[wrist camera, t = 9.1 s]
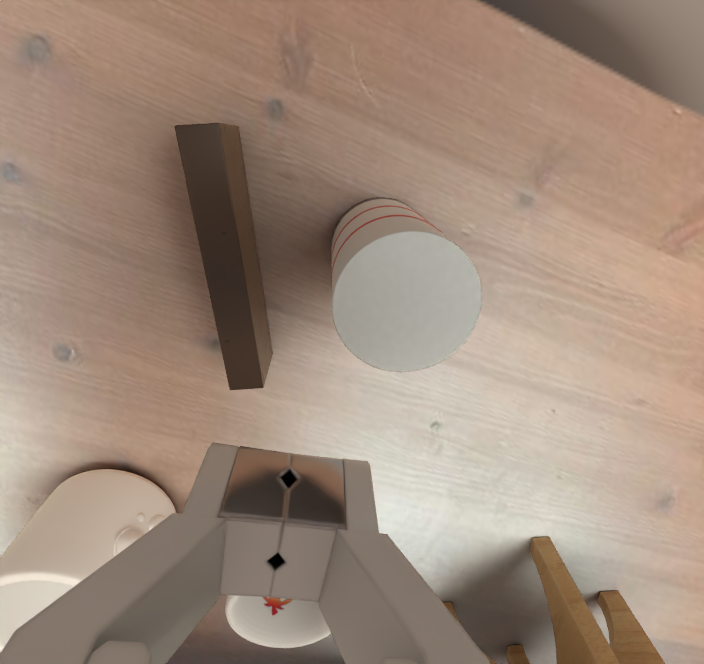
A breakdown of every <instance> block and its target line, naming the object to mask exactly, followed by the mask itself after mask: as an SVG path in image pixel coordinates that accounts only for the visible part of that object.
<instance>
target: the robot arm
mask: <svg viewBox="0 0 704 664" xmlns="http://www.w3.org/2000/svg"><path fill="white" fill-rule="evenodd" d="M219 595H235V596H258V597H274V598H283V599H293V600H302V601H312V602H319V603H318V606H319V608H320V610H321V612H322V614H323V617H324V619H325V621H326V623H327V625H328V627H329V629H330V632H331V634H332V636H333V638H334V640H335V642H336V644H337V646H338V649H339V651H340V653H341V655H342V657H343V659H344V661H345V664H490V661H489V660H488V658H487V657H486V656H485V655H484V653H483V652H482V651H481V650H480V648H479V647H478V646H477V645H476V643H475V642H474V641H473V640H472V639H471V637H470V636H469V635H468V634H467V632H466V631H465V630H464V629H463V627H462V626H461V625H460V624H459V623H458V621H457V620H456V619H455V618H454V616H453V615H452V614H451V613H450V611H449V610H448V609H447V608H446V606H445V605H444V604H443V603H442V602H441V600H440V599H439V598H438V597H437V595H436V594H435V593H434V592H433V590H432V589H431V588H430V587H429V585H428V584H427V583H426V582H425V581H424V579H423V578H422V577H421V576H420V574H419V573H418V572H417V571H416V569H415V568H414V567H413V566H412V565H411V563H410V562H409V561H408V560H407V558H406V557H405V556H404V555H403V553H402V552H401V551H400V550H399V548H398V547H397V546H396V545H395V544H394V542H393V541H392V540H391V539H390V537H389V536H388V535H387V534H380V533H379V531H378V523H377V515H376V507H375V500H374V492H373V484H372V476H371V468H370V464H369V463H368V461H360V460H350V459H336V458H328V457H319V456H310V455H301V454H292V453H285V452H278V451H271V450H264V449H257V448H250V447H243V446H240V447H238V446H232V445H226V444H219V443H212V444H211V445H210V447H209V448H208V450H207V452H206V455H205V457H204V460H203V462H202V465H201V467H200V470H199V472H198V475H197V477H196V480H195V482H194V485H193V487H192V490H191V492H190V495H189V497H188V500H187V502H186V505H185V507H184V510H183V512H182V514H177V513H172V514H171V515H170V516H168V517H167V518H166V519H164V520H163V521H162V522H160V523H159V524H158V525H156V526H155V527H153V528H152V529H151V530H149V531H148V532H147V533H145V534H144V535H143V536H141V537H140V538H139V539H137V540H136V541H135V542H133V543H132V544H131V545H129V546H128V547H127V548H125V549H124V550H123V551H121V552H120V553H119V554H117V555H116V556H115V557H113V558H112V559H111V560H109V561H108V562H106V563H105V564H104V565H102V566H101V567H100V568H98V569H97V570H96V571H94V572H93V573H92V574H90V575H89V576H88V577H86V578H85V579H84V580H82V581H81V582H80V583H78V584H77V585H76V586H74V587H73V588H72V589H70V590H69V591H68V592H66V593H65V594H63V595H62V596H61V597H59V598H58V599H57V600H55V601H54V602H53V603H51V604H50V605H49V606H47V607H46V608H45V609H43V610H42V611H41V612H39V613H38V614H37V615H35V616H34V617H33V618H31V619H30V620H29V621H27V622H26V623H25V624H23V625H22V626H21V627H19V628H18V629H16V630H15V631H14V633H13V634H12V636H11V637H10V639H9V641H8V642H7V644H6V645H5V647H4V648H3V650H2V651H1V653H0V664H166V662H167V661H168V660H169V659H170V658H171V656H172V655H173V654H174V653H175V651H176V650H177V649H178V648H179V647H180V645H181V644H182V643H183V642H184V641H185V639H186V638H187V637H188V636H189V634H190V633H191V632H192V631H193V630H194V628H195V627H196V626H197V625H198V623H199V622H200V621H201V620H202V619H203V617H204V616H205V615H206V614H207V613H208V611H209V610H210V609H211V608H212V606H213V605H214V604H215V603H216V602H217V600H218V599H219Z"/></svg>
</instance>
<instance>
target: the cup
mask: <svg viewBox="0 0 704 664" xmlns="http://www.w3.org/2000/svg"><path fill="white" fill-rule="evenodd" d="M318 603H319V602H312V601H302V600H293V599H283V598H274V597H258V596H235V595H228V598H227V602H226V617H227V620H228V622H229V624H230V626H231V627H232V628H233V630H234V631H235V632H236V633H238V634H239V635H240V636H241V637H243V638H245V639H247V640H248V641H251V642H253V643H256V644H259V645H263V646H267V647H275V648H293V647H301V646H305V645H309V644H312V643H315V642H317V641H319V640H321V639H323V638H325V637H326V636H328V635H329V634H330V633H331V632H330V629H329V627H328V625H327V623H326V621H325V619H324V617H323V614H322V612H321V610H320V608H319V606H318Z"/></svg>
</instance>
